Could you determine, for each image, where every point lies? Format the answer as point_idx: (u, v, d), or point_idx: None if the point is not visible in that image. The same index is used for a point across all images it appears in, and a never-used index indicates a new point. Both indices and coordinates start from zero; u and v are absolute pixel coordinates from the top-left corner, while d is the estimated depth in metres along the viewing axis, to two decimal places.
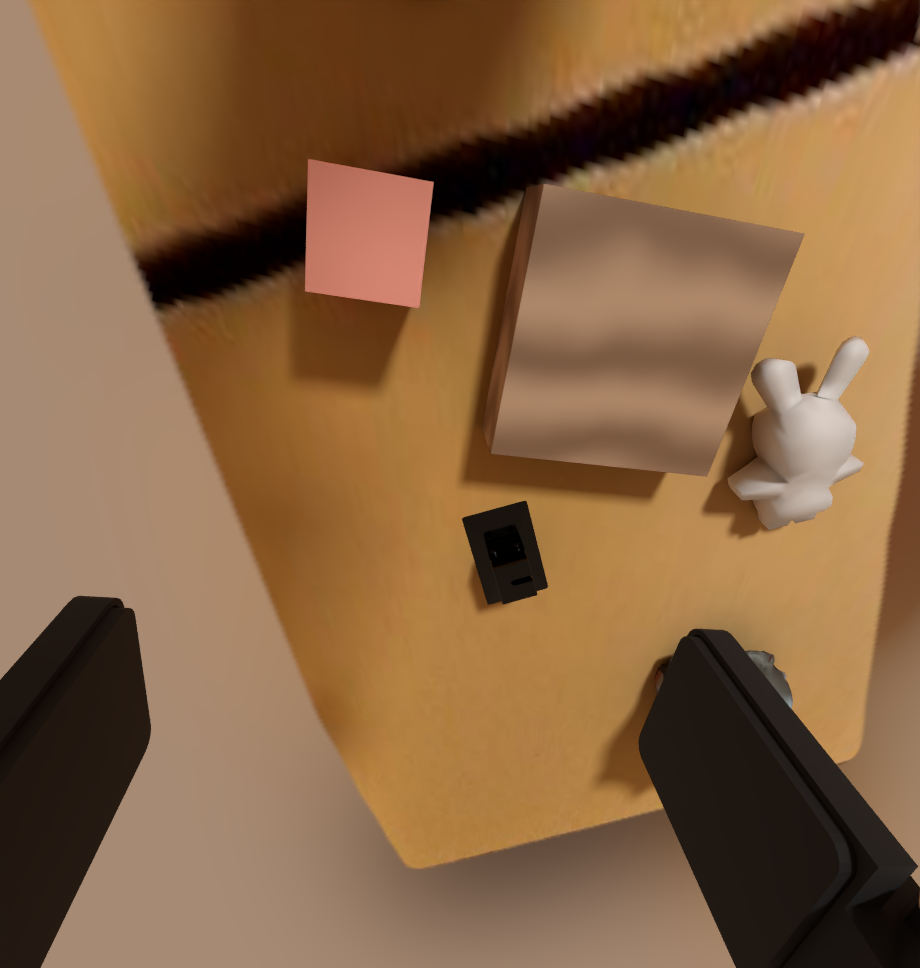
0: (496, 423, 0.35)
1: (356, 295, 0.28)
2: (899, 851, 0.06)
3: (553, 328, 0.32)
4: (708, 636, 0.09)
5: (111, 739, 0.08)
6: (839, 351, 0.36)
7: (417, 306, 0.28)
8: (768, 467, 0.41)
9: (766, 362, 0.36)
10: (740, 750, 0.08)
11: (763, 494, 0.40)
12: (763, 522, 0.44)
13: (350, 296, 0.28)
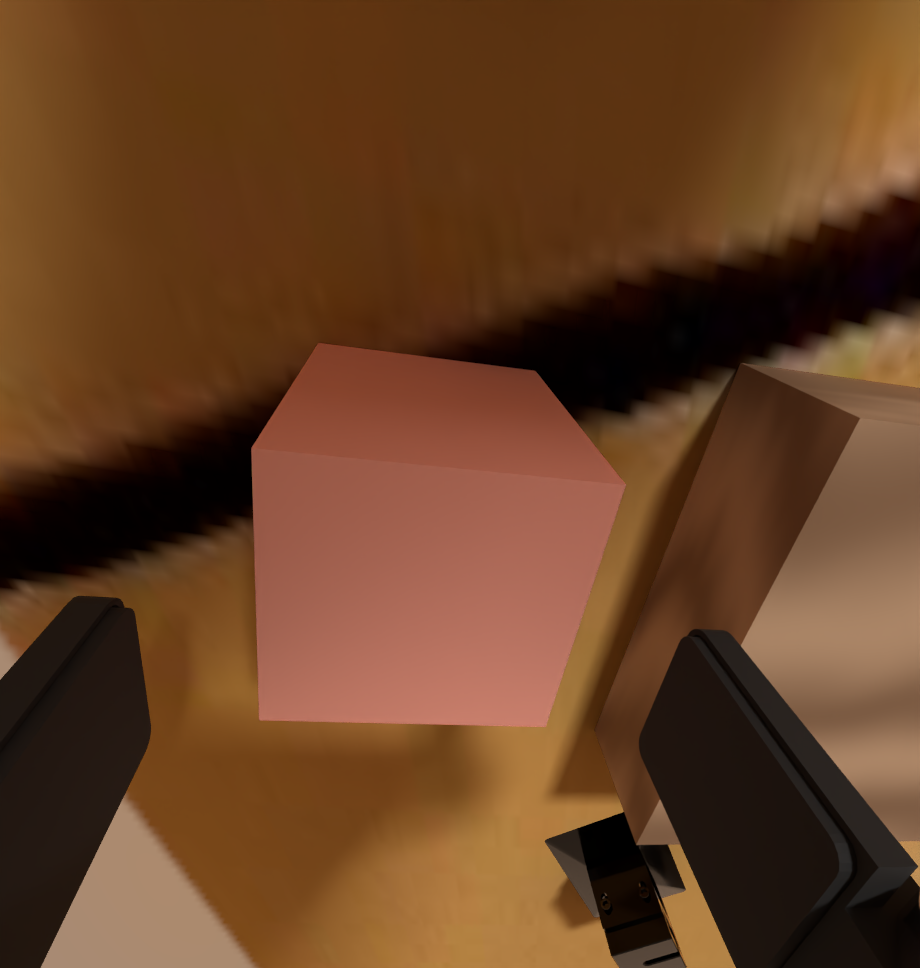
0: (653, 803, 0.18)
1: (392, 717, 0.11)
2: (899, 851, 0.06)
3: (803, 669, 0.15)
4: (708, 636, 0.09)
5: (111, 739, 0.08)
6: None
7: (542, 725, 0.11)
8: None
9: None
10: (740, 750, 0.08)
11: None
12: None
13: (377, 720, 0.11)
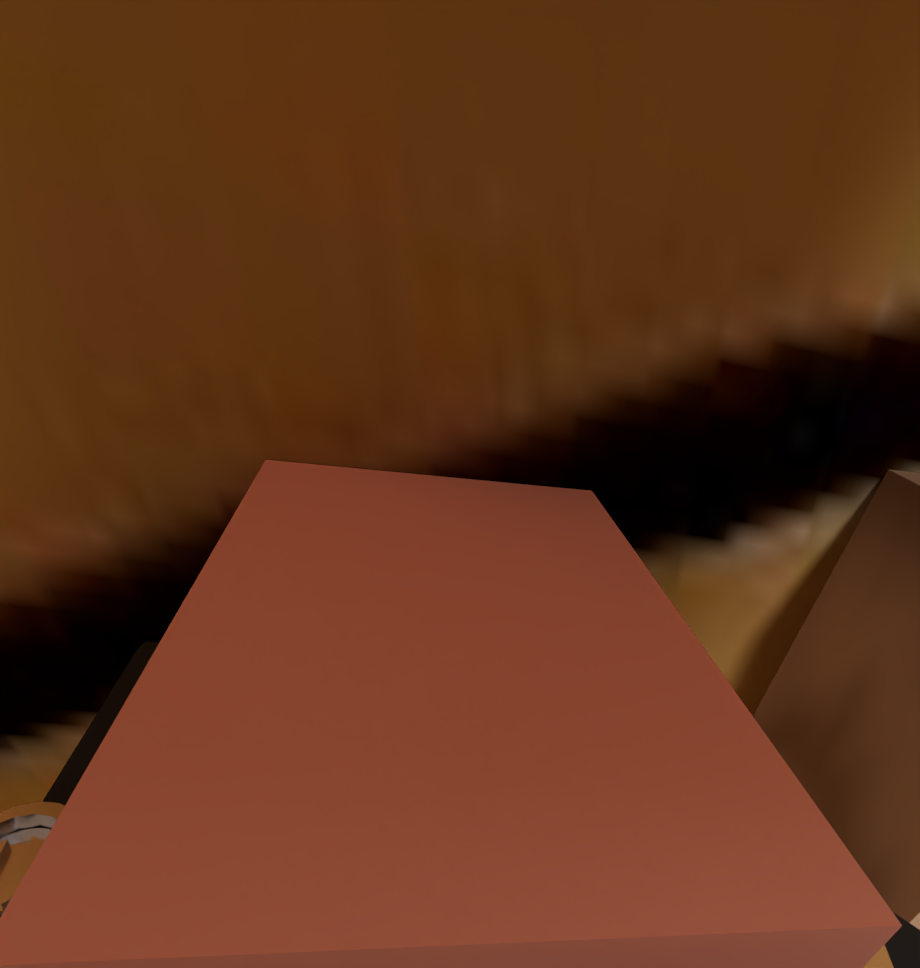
0: None
1: None
2: None
3: None
4: None
5: None
6: None
7: None
8: None
9: None
10: None
11: None
12: None
13: None
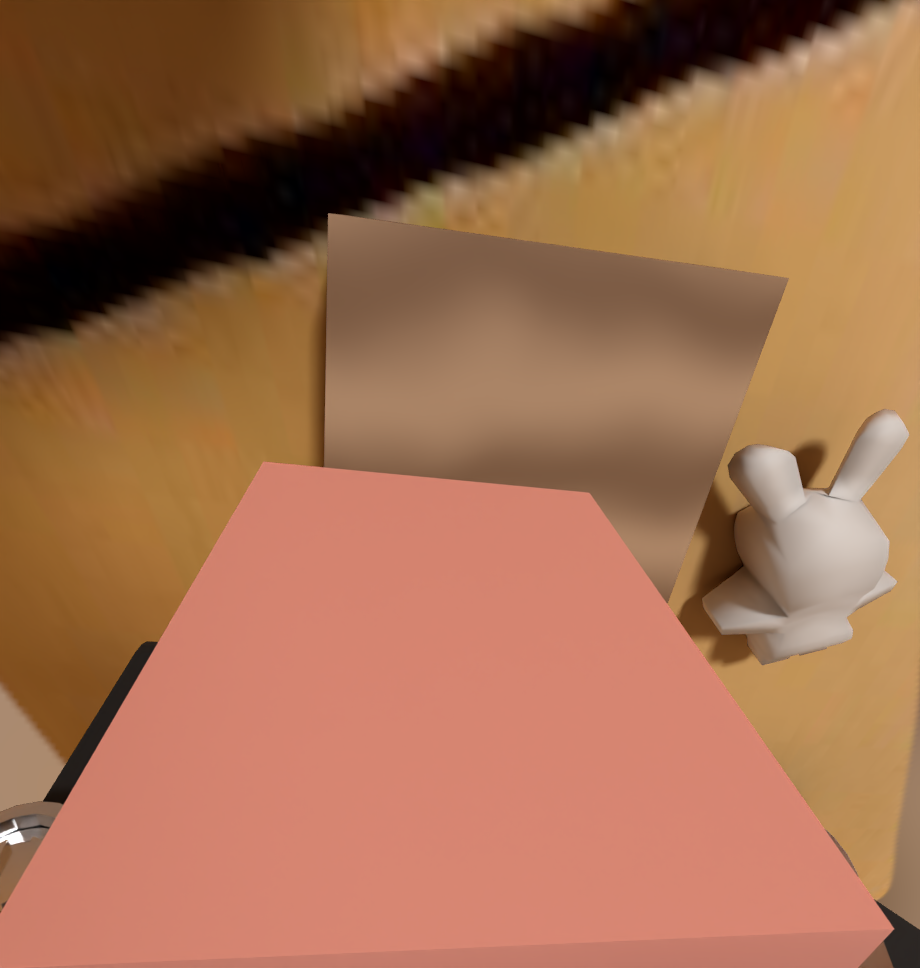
0: None
1: None
2: None
3: (387, 439, 0.20)
4: None
5: None
6: (862, 433, 0.23)
7: None
8: (758, 586, 0.29)
9: (751, 451, 0.23)
10: None
11: (752, 628, 0.28)
12: (754, 652, 0.31)
13: None
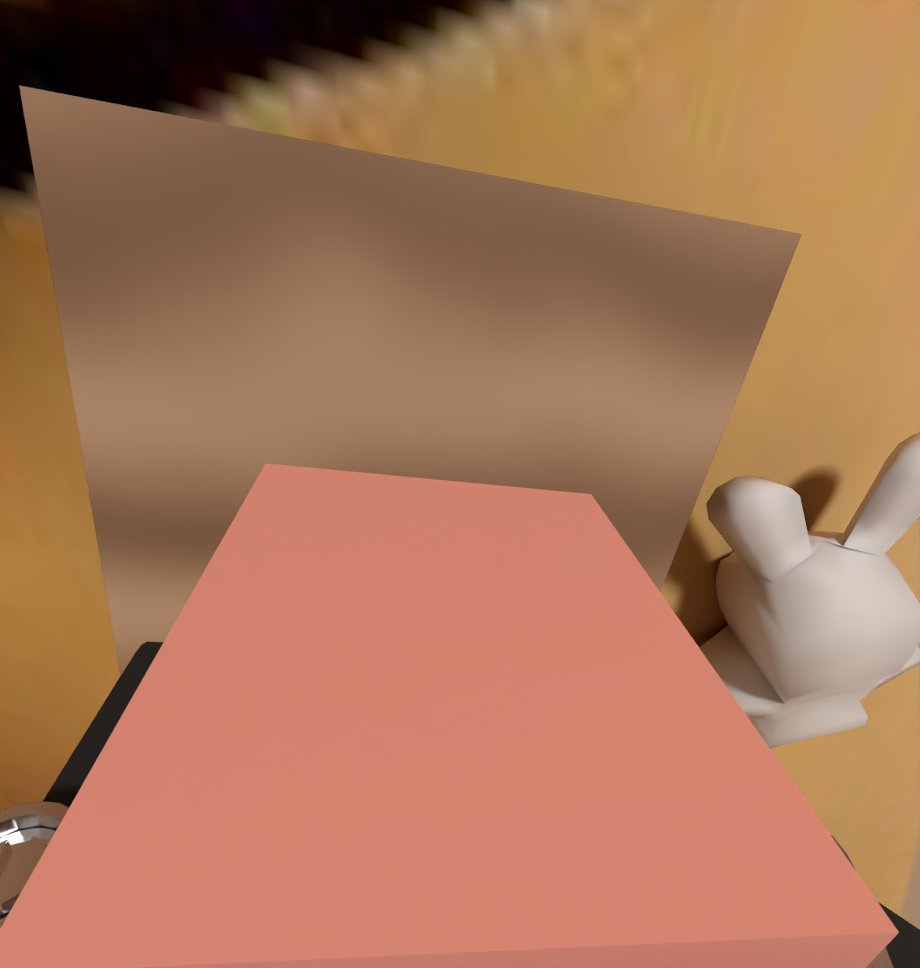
0: None
1: None
2: None
3: (184, 466, 0.13)
4: None
5: None
6: (894, 464, 0.17)
7: None
8: (746, 654, 0.22)
9: (738, 485, 0.17)
10: None
11: None
12: None
13: None
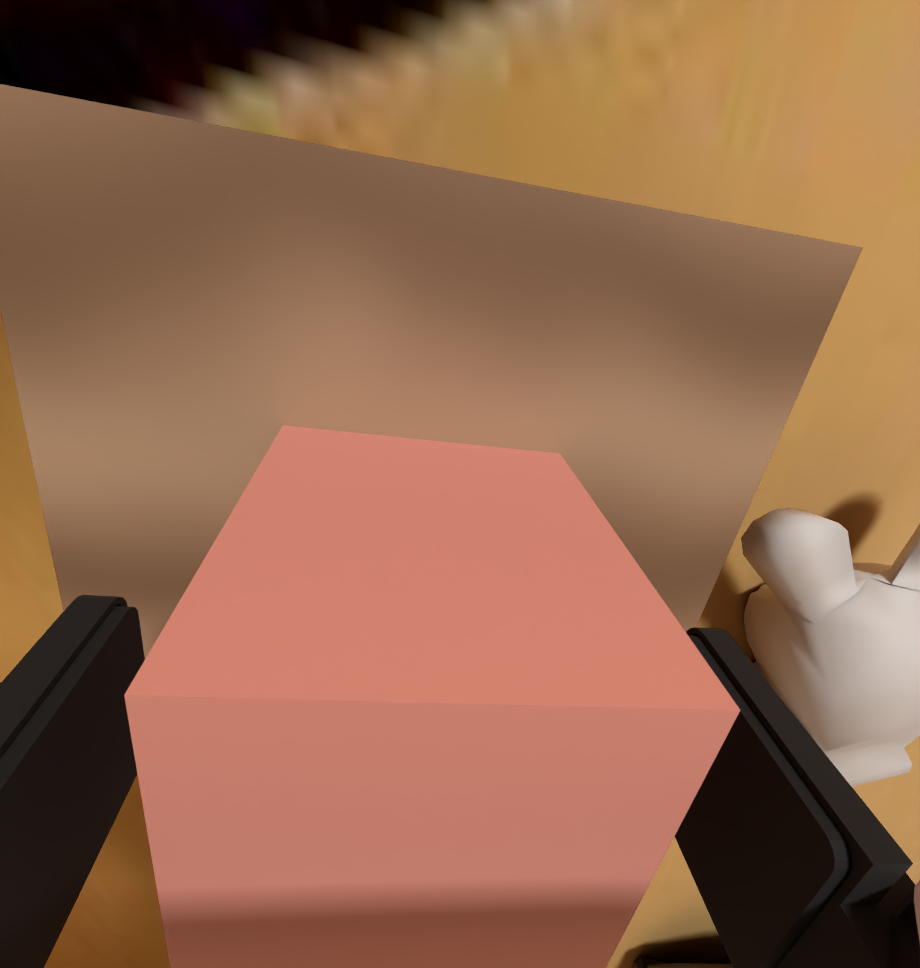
0: None
1: None
2: (894, 848, 0.06)
3: (157, 510, 0.11)
4: (705, 635, 0.09)
5: (115, 737, 0.08)
6: None
7: None
8: None
9: (778, 520, 0.15)
10: (737, 748, 0.08)
11: None
12: None
13: None
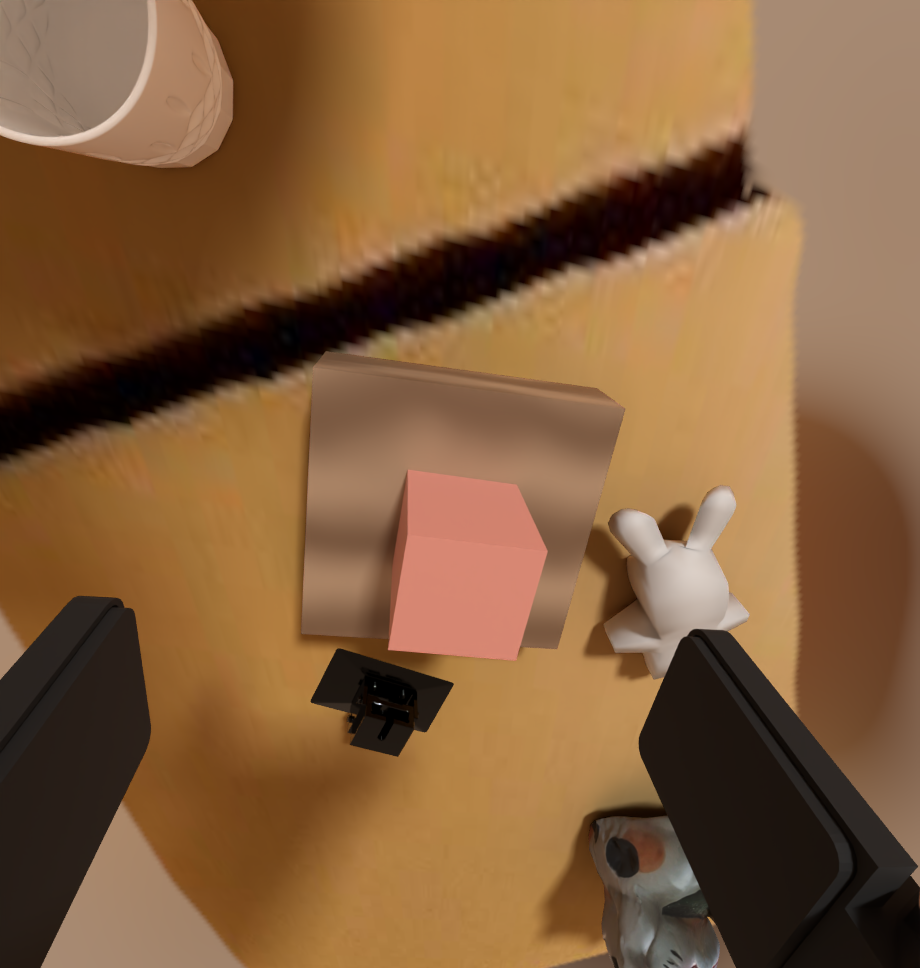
0: (303, 603, 0.31)
1: (446, 651, 0.24)
2: (899, 851, 0.06)
3: (350, 508, 0.28)
4: (708, 636, 0.09)
5: (111, 739, 0.08)
6: (703, 503, 0.32)
7: (514, 659, 0.25)
8: (645, 615, 0.37)
9: (622, 513, 0.32)
10: (740, 750, 0.08)
11: (637, 648, 0.36)
12: (649, 669, 0.39)
13: (439, 652, 0.24)
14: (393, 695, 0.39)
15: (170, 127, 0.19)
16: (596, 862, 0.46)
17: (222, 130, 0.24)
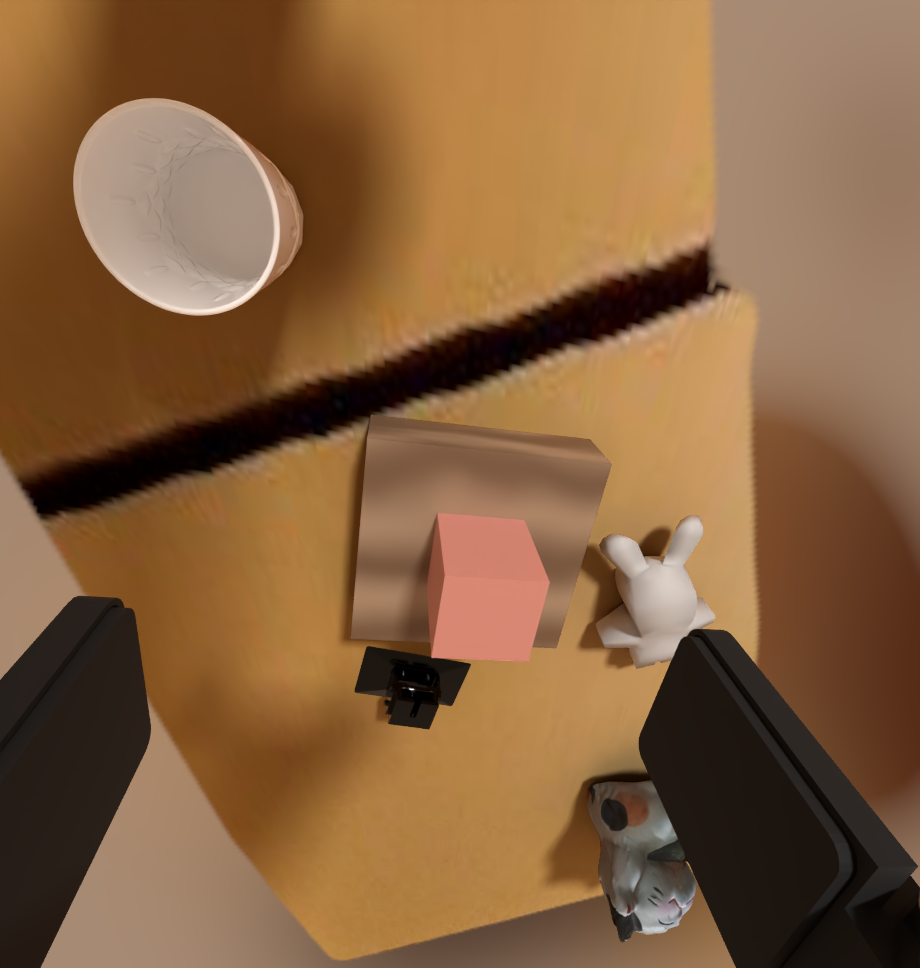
0: None
1: (475, 657, 0.32)
2: (899, 851, 0.06)
3: (393, 542, 0.36)
4: (708, 636, 0.09)
5: (111, 739, 0.07)
6: (676, 529, 0.39)
7: (527, 660, 0.32)
8: (629, 616, 0.44)
9: (611, 538, 0.39)
10: (740, 750, 0.08)
11: (622, 644, 0.44)
12: (633, 660, 0.47)
13: (470, 658, 0.32)
14: (419, 680, 0.47)
15: (272, 280, 0.26)
16: (593, 819, 0.55)
17: (295, 254, 0.31)
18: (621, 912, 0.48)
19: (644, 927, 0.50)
